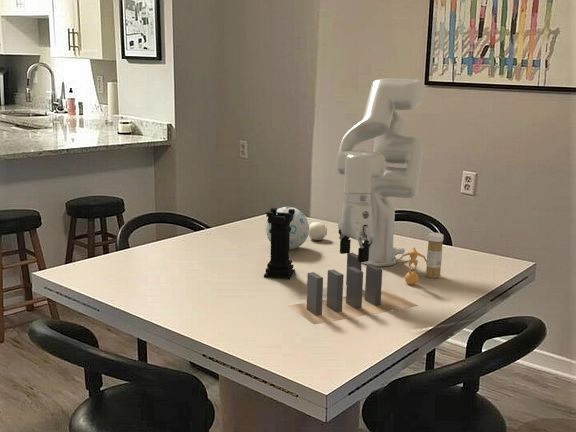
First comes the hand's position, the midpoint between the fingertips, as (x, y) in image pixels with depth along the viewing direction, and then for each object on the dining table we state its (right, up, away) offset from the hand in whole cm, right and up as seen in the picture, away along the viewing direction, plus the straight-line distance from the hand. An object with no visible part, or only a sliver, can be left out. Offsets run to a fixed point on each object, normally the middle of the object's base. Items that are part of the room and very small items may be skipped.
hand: (353, 257), depth 185 cm
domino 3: (0, -9, +3) cm, 10 cm away
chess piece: (-21, -6, +14) cm, 26 cm away
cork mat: (-1, -13, -12) cm, 17 cm away
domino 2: (-7, -13, -15) cm, 20 cm away
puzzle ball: (-19, 0, +43) cm, 47 cm away
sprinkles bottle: (+26, -7, +16) cm, 31 cm away
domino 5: (+4, -12, -9) cm, 16 cm away
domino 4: (-1, -12, -12) cm, 17 cm away
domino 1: (-12, -13, -17) cm, 25 cm away
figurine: (+18, -9, +6) cm, 21 cm away
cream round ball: (-8, +3, +56) cm, 56 cm away
